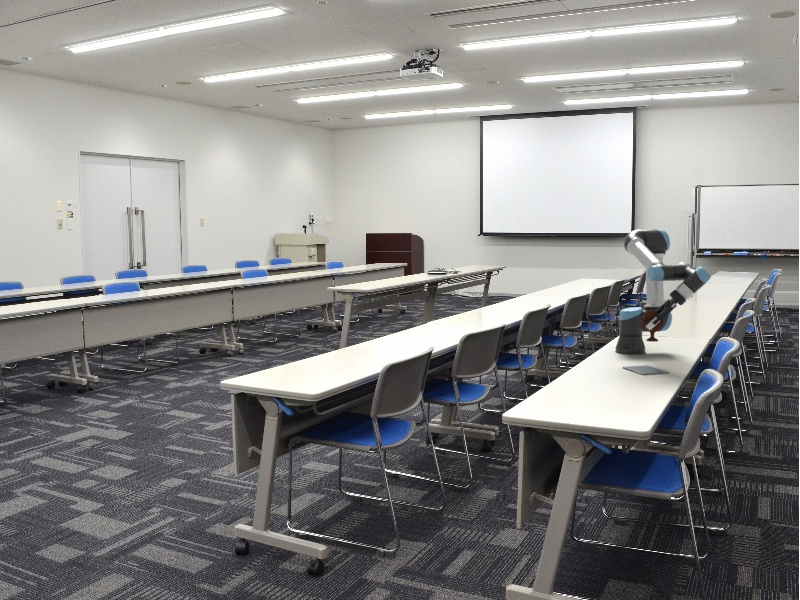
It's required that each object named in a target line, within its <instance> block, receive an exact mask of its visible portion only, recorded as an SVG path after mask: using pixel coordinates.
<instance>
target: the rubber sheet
mask: <svg viewBox="0 0 800 600" xmlns="http://www.w3.org/2000/svg"><path fill="white" fill-rule="evenodd" d="M622 369H624V370H627V371H629V372H632V371H633V372H632V373H635V372H636V374H638V373H639V375H641V374H642V376H647V375H646V374H652V375H661V374H660V373H666V374H669V373H670V372H669V371H668V370H665V369H661V368H658V367H654V366H651V365H649V364H646V365H633V366H632V365H630V366H622Z"/></svg>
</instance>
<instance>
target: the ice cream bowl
mask: <svg viewBox="0 0 800 600" xmlns="http://www.w3.org/2000/svg"><path fill="white" fill-rule="evenodd" d="M656 315H658V313H657V312H656V311H654V310H648V311H646V312H645V314H644V317H643V320H641V321H640V322H641V325H642V327H643V328H644V329H645V330H646V331H648V332H647V333H650V337H648V338H646V342H650V343H651V342H654V343H655V342H659V339H658V338H656V337H655V333H657V331H659V330H660V329H661V328H662V327H663V326H664V323H665V321H660V322H659V323H658V324H657V325H656V326H655V327H653V328H652V329H651V330H649V329H648V328H647V327H646V326H647V325H648V324H649V323H650V322H651V321H652V320H653V319H654V318H655V317H656Z"/></svg>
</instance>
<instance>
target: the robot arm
mask: <svg viewBox="0 0 800 600" xmlns="http://www.w3.org/2000/svg"><path fill="white" fill-rule="evenodd" d="M623 246H624V250H625V251H626V252H627V253H628V255H631V256H634V258H636V259H637V260H638V262H639V263H640V264H641V265H642V266H643V267H644V268H645V284H646V303H645V305H643V307H640V306H639V307H638V306H635V307H634V306H633V307H627V308H623V309H621V310H620V311H619V317H618V320H619V322H618V325H619V327H618V328H619V329H618V330H619V332H618V334H619V335H618V336H619V337H618V340H617V343H616V346H615V353H617V354H618V353H620V354H626V355H639V354H645V353H646V345H645V343H644V340H643V339H644V338H643V333H645V332H646V333H649V332H648V331H646V330H645V329H644V328H643V327H642V325H641V322H640V321H641V320H643V317H644V314H645V312H646V311H648V310H654V311H656V312H657V313H658V315H656V317H655V318H654V319H653V320H652V321H651V322H650V323H649V324H648V325H647V326H646V327H647V328H648V329H649V330H651V329H652V328H653V327H655V326H656V325H657V324H658V323H659V322H660V321H665V323H664V326H663V327H662V328H661V329H660V330H659V331H657V332H665V331H667V330H668V329H669V328H670V327H671V325H672V322H673V314H672V311H673V310H674V309H676V308H677V307H678V305H680V306H683V304H685V303H687V300H689V299H690V298H693V297H694V294H695V293H697V292H698V291H699V290H700V289H701V288H702V287H703V286H705V285H706V284H707V282H709V280H711V278H712V275H711V274H710V273H709V271H707V270H706V269H705V268H703V267H702V266H698V267H693V266H692V265H691V264H689V263H687V262H685V261H684V262H682V261H681V262H679V263H677V264H668V265H667V264H665V263H664V262H663V261H664V257H665V256H666V254H667V253H666V252H668V251H669V250H670V246H671V239H670V236H669V234H668V233H667V231H666V230H665V229H661V228H660V229H657V228H656V229H652V228H651V229H634V230H631V231H630V232H629V233H627V235H626V236H625V238H624V241H623ZM670 281H671V282H672V281H673V282H675V281H676V282H678V281H680V282H681V281H682V282H681V283H680V284H679V285H678V286H677V287H676V289H673V290H672V291H671V292H670V293H669V297H671V298H670V299H669V298H668V299H667V300H664V299H665V297H664V293H665V292H664V282H670ZM657 332H656V333H657Z"/></svg>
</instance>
